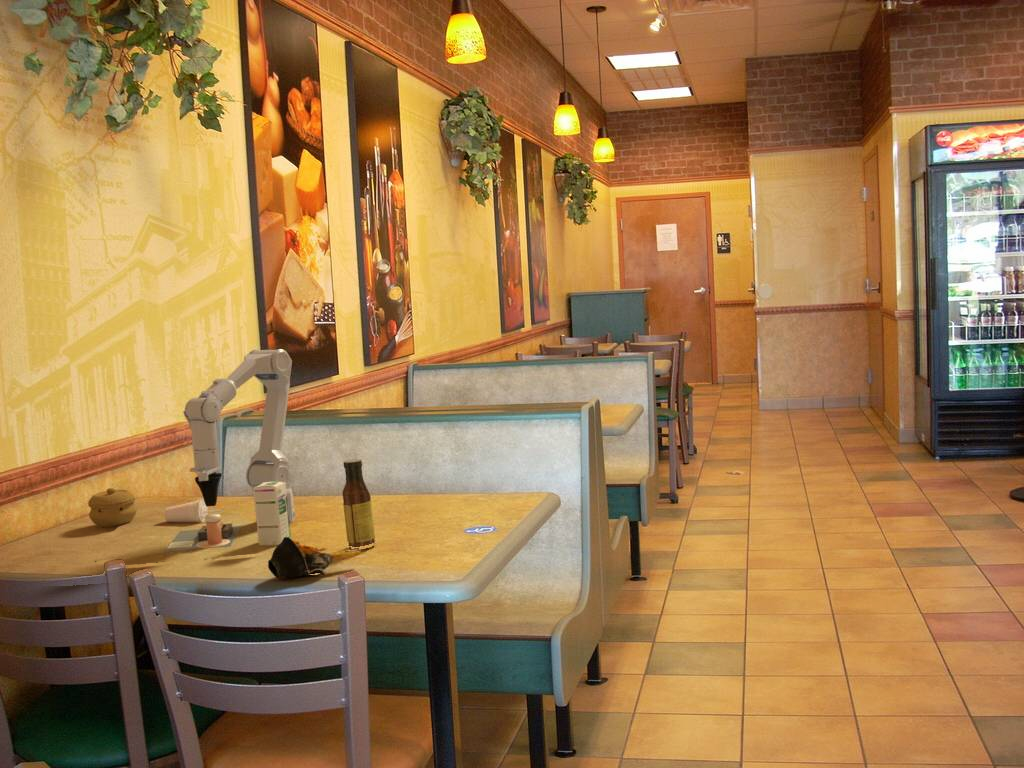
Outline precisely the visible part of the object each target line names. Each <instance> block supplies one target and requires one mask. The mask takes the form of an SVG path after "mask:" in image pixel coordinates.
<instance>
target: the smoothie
mask: <svg viewBox="0 0 1024 768" xmlns="http://www.w3.org/2000/svg"><path fill="white" fill-rule="evenodd" d="M214 513H220V509H215V510H214V509H213V510H209V506H208V507H206V504H205V502H204V498H201V499H197V500H195V501H190V502H186V503H182V504H178V505H174V506H168V507H166V508H165V509H164V519H165V521H166V523H203V522H205V516H206V515H209V514H214Z"/></svg>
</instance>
